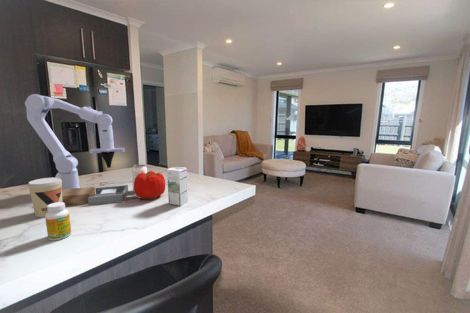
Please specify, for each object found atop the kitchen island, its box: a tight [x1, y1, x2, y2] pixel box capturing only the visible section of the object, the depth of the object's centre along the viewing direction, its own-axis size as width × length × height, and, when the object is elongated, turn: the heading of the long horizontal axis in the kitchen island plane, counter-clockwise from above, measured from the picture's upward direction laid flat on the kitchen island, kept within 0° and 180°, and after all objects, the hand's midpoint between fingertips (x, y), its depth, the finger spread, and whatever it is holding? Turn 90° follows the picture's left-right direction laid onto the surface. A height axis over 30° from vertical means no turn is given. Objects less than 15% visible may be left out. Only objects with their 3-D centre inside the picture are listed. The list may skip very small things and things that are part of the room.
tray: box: [88, 184, 129, 206], centre depth 100 cm, size 13×14×3 cm
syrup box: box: [166, 166, 189, 207], centre depth 92 cm, size 6×6×14 cm
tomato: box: [133, 170, 166, 200], centre depth 100 cm, size 14×13×10 cm
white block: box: [100, 189, 117, 196], centre depth 99 cm, size 6×6×2 cm
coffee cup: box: [27, 176, 62, 218], centre depth 83 cm, size 9×9×12 cm
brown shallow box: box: [62, 186, 96, 207], centre depth 95 cm, size 13×10×4 cm
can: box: [131, 164, 148, 192], centre depth 108 cm, size 6×6×12 cm
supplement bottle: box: [44, 202, 72, 241], centre depth 67 cm, size 5×5×10 cm
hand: (109, 167), depth 113 cm, fingers closed
